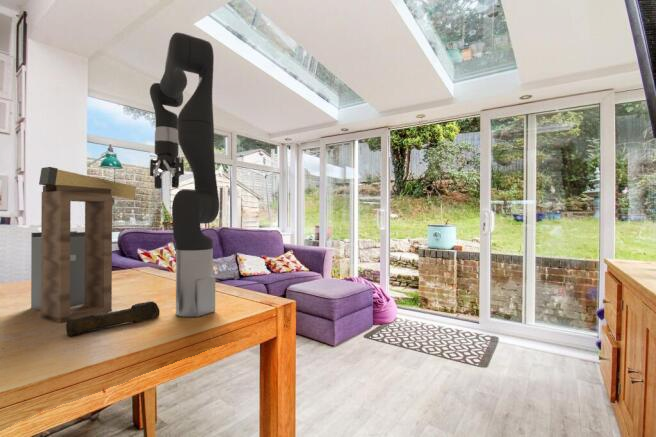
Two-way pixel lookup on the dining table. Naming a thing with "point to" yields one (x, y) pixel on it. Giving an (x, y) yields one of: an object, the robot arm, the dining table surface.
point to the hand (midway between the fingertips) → (166, 188)
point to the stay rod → (85, 182)
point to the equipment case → (75, 269)
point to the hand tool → (113, 318)
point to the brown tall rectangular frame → (58, 252)
